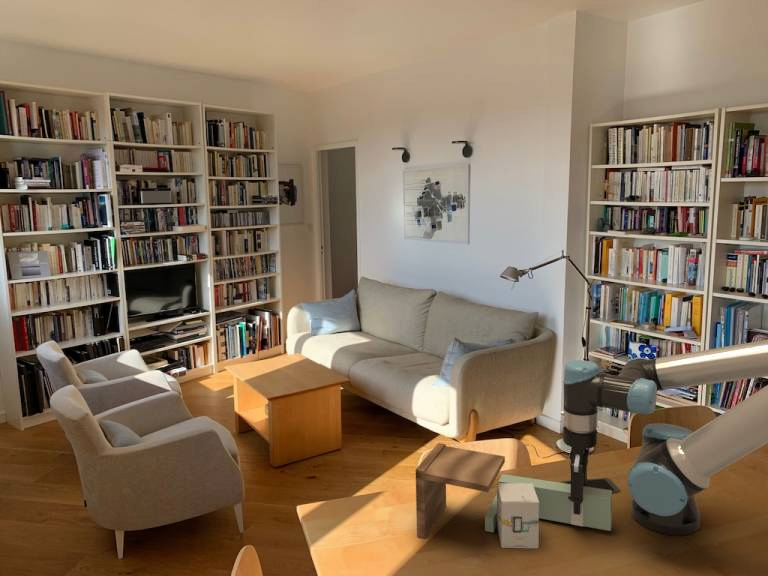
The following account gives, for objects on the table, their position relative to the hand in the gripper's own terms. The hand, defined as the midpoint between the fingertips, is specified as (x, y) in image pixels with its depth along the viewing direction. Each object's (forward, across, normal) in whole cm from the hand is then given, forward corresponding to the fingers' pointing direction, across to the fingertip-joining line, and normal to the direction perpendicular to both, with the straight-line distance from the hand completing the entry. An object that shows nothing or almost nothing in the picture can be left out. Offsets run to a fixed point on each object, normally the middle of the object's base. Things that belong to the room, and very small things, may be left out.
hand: (578, 519), depth 140 cm
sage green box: (+1, +5, -6) cm, 8 cm away
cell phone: (+2, -19, +1) cm, 19 cm away
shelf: (+1, +12, -25) cm, 28 cm away
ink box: (+1, +11, -12) cm, 16 cm away
